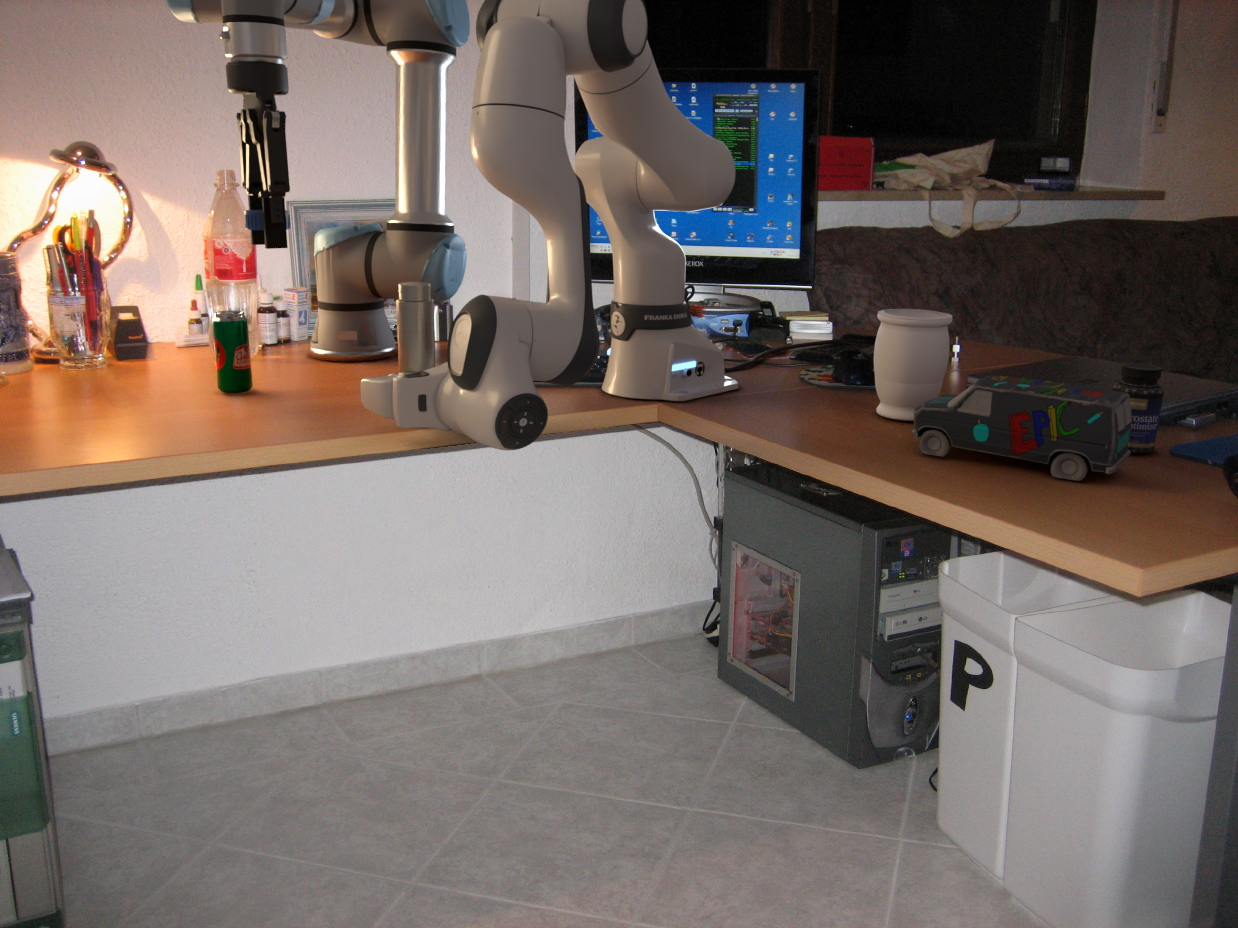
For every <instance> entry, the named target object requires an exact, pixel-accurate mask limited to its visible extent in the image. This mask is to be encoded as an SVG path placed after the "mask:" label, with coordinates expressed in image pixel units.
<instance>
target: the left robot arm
mask: <svg viewBox="0 0 1238 928" xmlns="http://www.w3.org/2000/svg"><path fill="white" fill-rule="evenodd" d="M165 4H166V6H167V8H168V10H169V11H170V13H171V14H172V15H173V16H174V17H175V18H176V19H177V20H179V21H181V22H184V23H195V24H198V25H199V24H212V23H213V24H214V23H215V24H222V30H221V31H219V32H218V35H219V38H220V39H221V40H224V42H223V43H224V44H223V45H224V54H225V57H226V58H228V59H230V61H228V62H227V63H226V64H225V77H226V88H227V91H228V92H229V93H230V94H235V95H242V96H243V99H242V103H243V104H242V109H240V112H236V115H235V119H236V123H237V130H238V143H239V160H240V161H239V162H240V175H241V176H240V178H241V187H242V189H243V190H245V192H246V194H247V201H248V202H247V203H248V210H263V224H264V230H249V231H250V242H251V246H264V248H265V249H266V250H269V249H273V250H274V249H288V235H287V230H286V216H285V210H286V204H285V203H286V202H285V201H286V200H285V197H286V194H287V193H290V191H291V185H290V174H289V173H290V172H289V162H288V161H289V159H288V147H287V146H288V145H287V135H286V125H287V124H286V123H287V115H286V112H285V111H281V110H278V106H277V102H276V96H286V95H288V93H289V91H290V87H289V74H288V73H289V71H288V67H287V66H286V65H285V63H284V64H283V61H286V60H287V59H288V45H287V32H286V29H294V30H305V31H311V32H313V33H314V34H315V35H317V36H319V37H321V38H323V39H324V38H325V39H332V40H338V41H343V42H348V43H354V44H357V45H358V44H359V45H365V46H371V47H386V57H388V58H389V60H391V62H392V63H393V65H394V66H395V185H394V186H395V189H394V191H395V192H394V193H395V194H394V195H395V196H394V199H395V200H394V201H395V203H394V204H395V206H394V207H395V210H394V212H393V213H392V215H391V216H389V218H387V220H386V230H385V231H383V228H382V226H381V224H380V223H379V222H374V223H372V222H371V223H362V224H355V225H344V226H336V227H335V226H334V227H327V228H321V229H319V230H318V231H317V232H316V233H315V235H314V246H313V247H314V249H313V258H314V269H315V280H316V284H315V285H316V297H317V310H318V311H317V316H316V321H315V323H314V327H313V331H312V335H311V338H310V342H309V355H310V356H311V357H312V358H314V359H317V360H323V361H331V362H366V361H376V360H382V359H387V358H390V357H394V356H395V355H396V354H397V342H396V339H395V337H394V336H397V325H395V326H394V328H395V329H396V330H392V329H391V328H390V326H391V325H390V323H389V320H388V317H387V314H386V311H385V300H386V299H387V300H396V299H399V292H398V290H399V285H398V284H399V283H403V282H426V283H430V285H431V288H430V298H432V299H433V300H434V302H444V301H448V300H450V299H452V298H453V297H454V296H455V295H456V294H457V292H458V291H459V288H460V287H461V285H462V283H463V281H464V277H465V274H466V268H467V258H468V257H467V255H468V251H467V248H466V243H465V240H464V239H463V237H462V236H460V234H459V235H458V234H457V233H455V223H454V221H452V220H451V219H450V217H449V216H448V214H447V211H446V209H447V205H446V204H447V126H448V125H447V124H448V123H447V122H448V121H447V120H448V119H447V117H448V115H447V114H448V113H447V112H448V109H447V108H448V69H449V68H450V67H451V66H452V65H454V64H455V62H456V61H457V48H461V47H463V46H465V45H466V44H467V43H468V41H469V36H470V33H471V20H470V12H469V7H468V2H467V0H165Z"/></svg>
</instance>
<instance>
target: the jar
mask: <svg viewBox="0 0 1238 928" xmlns="http://www.w3.org/2000/svg"><path fill="white" fill-rule="evenodd" d="M877 319H878V321H880V325H879V327H878V329H877V334H876V337H875V342H874V347H873V372H874V384H875V385H874V386H875V391H876V395H877V398H878V399H879V401H880V402H879V404H877V405H878V406H877V407H876V409H875V412H876V413H877V415H879V416H881V417H884V418H887V419H889V420H890V419H891V420H896V421H903V422H914V412H915V410H914V409H915V408H917V407H918V406H920V405H921V404H923V403H925V402H927V401H929V400H932V399H934V398H937V397H940V393H941V391H942V388H943V384H944V378H945V377H946V376H945V375H946V373H947V369H948V364H949V360H950V359H949V357H950V334H949V327H948V326H949V325H951V324H952V323H953V315H952V314H950V313H947V312H943V311H936V310H929V309H918V308H888V309H880V310H878V311H877Z"/></svg>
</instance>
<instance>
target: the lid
mask: <svg viewBox="0 0 1238 928" xmlns="http://www.w3.org/2000/svg"><path fill="white" fill-rule="evenodd" d="M243 212H244V213H243V214H244V215H243V219H244V228H245V230H249V231H250V230H264V224H263V210H249V209H245V210H244V211H243ZM285 216H286V231H287V230H290V229H291V216H290V211H289V210H286V209H285Z"/></svg>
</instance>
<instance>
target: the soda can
mask: <svg viewBox="0 0 1238 928" xmlns="http://www.w3.org/2000/svg"><path fill="white" fill-rule="evenodd" d="M248 320H249V319H248V317H247V316H246V315H245V311H243V310H219V311H215V312H214V313H213V317H212V319H211V325H212V327H211V328H212V338H213V348H214V349H213V351H214V359H215V360H214V361H215V372H216V382H217V384H216V385H217V389H218V390H219V391H220V392H221V393H224V394H229V395H231V394H233V395H234V394H243V393H248V392H250V391H251V390H252V388H253V386H254V383H253V373H252V370H253V369H252V358H251V347H250V334H249V333H250V331H249V321H248Z"/></svg>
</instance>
